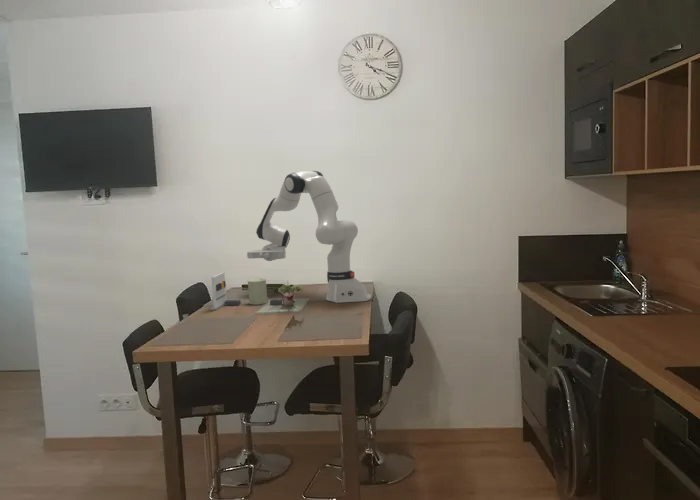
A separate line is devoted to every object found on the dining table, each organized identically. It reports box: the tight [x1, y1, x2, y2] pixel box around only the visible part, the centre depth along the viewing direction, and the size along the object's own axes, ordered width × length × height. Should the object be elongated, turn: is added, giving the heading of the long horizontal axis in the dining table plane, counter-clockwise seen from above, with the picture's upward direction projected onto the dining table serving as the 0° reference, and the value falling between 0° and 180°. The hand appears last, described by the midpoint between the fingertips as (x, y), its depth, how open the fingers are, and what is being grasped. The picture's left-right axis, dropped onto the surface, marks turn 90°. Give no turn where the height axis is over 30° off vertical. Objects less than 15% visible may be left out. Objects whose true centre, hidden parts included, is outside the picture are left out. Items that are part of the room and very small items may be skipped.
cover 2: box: [269, 298, 284, 306], centre depth 286 cm, size 6×3×3 cm, turn 82°
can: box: [247, 278, 269, 306], centre depth 292 cm, size 9×9×12 cm
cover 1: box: [224, 299, 242, 307], centre depth 290 cm, size 7×3×3 cm, turn 82°
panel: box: [209, 272, 227, 311], centre depth 286 cm, size 4×14×16 cm, turn 172°
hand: (262, 256), depth 302 cm, fingers closed
